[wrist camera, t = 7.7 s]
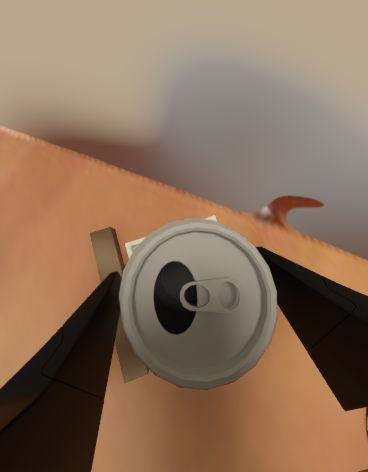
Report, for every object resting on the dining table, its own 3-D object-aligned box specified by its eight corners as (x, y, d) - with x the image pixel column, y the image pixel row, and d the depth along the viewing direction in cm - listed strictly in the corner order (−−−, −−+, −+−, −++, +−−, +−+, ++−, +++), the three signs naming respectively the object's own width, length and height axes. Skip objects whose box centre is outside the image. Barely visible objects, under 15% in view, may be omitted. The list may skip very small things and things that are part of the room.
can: (153, 245, 18) (105, 208, 6) (214, 243, 18) (279, 202, 6) (154, 312, 16) (93, 432, 5) (220, 307, 17) (319, 408, 5)
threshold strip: (150, 365, 16) (148, 373, 15) (128, 373, 16) (124, 383, 15) (114, 229, 18) (110, 227, 17) (95, 235, 18) (89, 233, 17)
